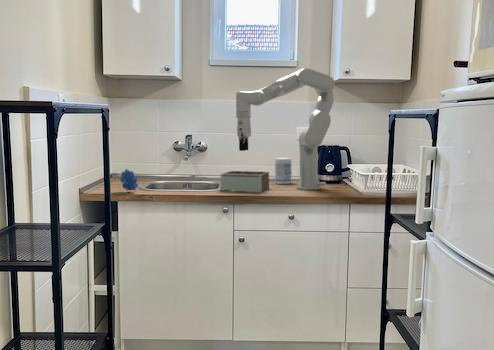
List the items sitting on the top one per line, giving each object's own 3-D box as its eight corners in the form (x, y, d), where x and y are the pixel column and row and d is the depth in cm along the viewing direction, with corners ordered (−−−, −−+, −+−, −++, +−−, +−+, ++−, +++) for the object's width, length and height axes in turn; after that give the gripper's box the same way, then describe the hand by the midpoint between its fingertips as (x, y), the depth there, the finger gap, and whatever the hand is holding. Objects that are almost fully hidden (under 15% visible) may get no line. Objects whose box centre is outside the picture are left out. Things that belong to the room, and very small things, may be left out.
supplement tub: (287, 184, 270) (287, 159, 268) (272, 183, 274) (272, 158, 272) (294, 182, 278) (294, 158, 276) (279, 182, 283) (279, 157, 281)
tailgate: (261, 192, 242) (261, 174, 241) (261, 192, 241) (261, 175, 240) (221, 190, 248) (221, 173, 247) (220, 190, 247) (220, 173, 246)
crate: (268, 188, 256) (268, 171, 255) (261, 192, 242) (261, 174, 241) (230, 186, 263) (230, 170, 262) (221, 190, 249) (221, 173, 248)
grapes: (115, 192, 245) (114, 169, 243) (124, 190, 250) (123, 168, 249) (131, 194, 239) (130, 170, 237) (141, 192, 244) (140, 169, 243)
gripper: (245, 115, 236) (245, 151, 238) (254, 115, 252) (255, 149, 254) (231, 115, 239) (231, 151, 241) (241, 115, 254) (241, 149, 257)
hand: (243, 150), depth 247 cm, fingers open, 4 cm apart
